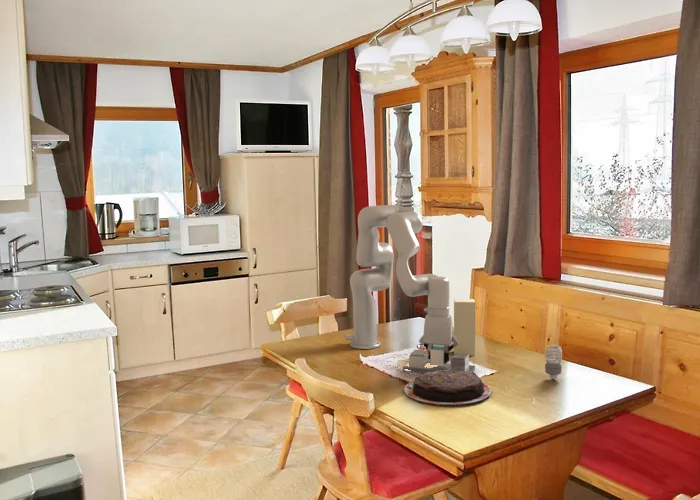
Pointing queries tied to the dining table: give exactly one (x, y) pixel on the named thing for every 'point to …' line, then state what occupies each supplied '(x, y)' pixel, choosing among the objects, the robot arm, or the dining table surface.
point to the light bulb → (553, 361)
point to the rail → (421, 359)
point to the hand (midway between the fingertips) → (438, 361)
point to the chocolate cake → (448, 388)
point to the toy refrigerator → (464, 326)
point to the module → (437, 355)
